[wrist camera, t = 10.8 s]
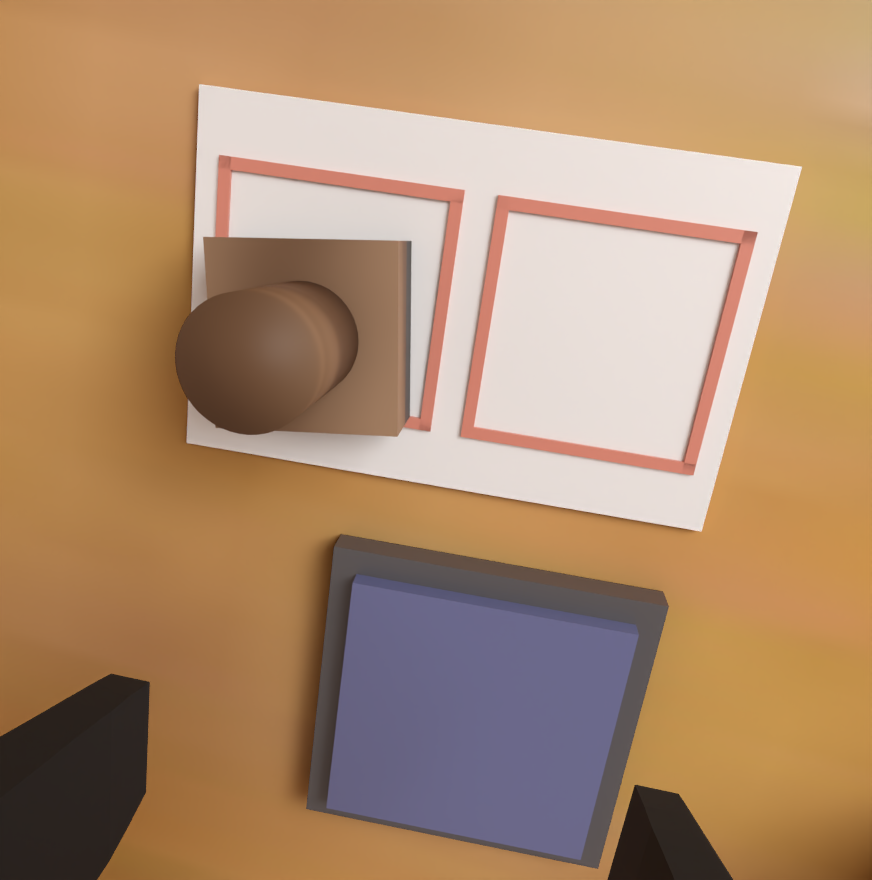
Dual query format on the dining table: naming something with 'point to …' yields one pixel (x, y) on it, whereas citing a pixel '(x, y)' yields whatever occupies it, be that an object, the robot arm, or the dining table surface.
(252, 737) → the dining table surface
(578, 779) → the ink pad
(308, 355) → the stamp
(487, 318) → the sheet
